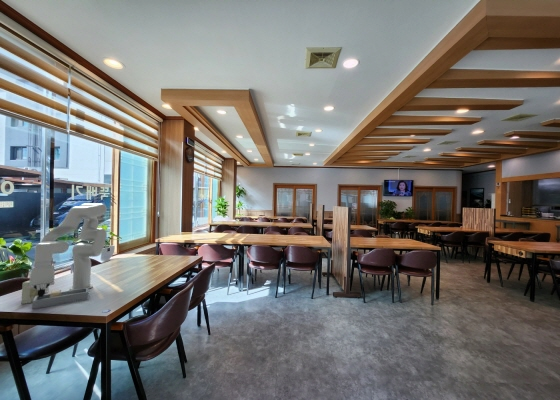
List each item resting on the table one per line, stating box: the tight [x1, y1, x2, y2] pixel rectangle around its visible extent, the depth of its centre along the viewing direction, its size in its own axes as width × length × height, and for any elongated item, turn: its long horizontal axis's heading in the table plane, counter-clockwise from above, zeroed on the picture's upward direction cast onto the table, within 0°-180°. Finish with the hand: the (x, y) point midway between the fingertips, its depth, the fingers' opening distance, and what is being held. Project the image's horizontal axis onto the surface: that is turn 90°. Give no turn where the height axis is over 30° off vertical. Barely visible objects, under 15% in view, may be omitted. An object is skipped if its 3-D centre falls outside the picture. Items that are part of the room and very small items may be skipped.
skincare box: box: [20, 279, 37, 305], centre depth 143 cm, size 6×4×12 cm
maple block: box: [49, 289, 62, 298], centre depth 143 cm, size 4×4×4 cm
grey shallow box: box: [31, 288, 89, 310], centre depth 144 cm, size 10×24×4 cm, turn 130°
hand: (41, 296), depth 138 cm, fingers closed
